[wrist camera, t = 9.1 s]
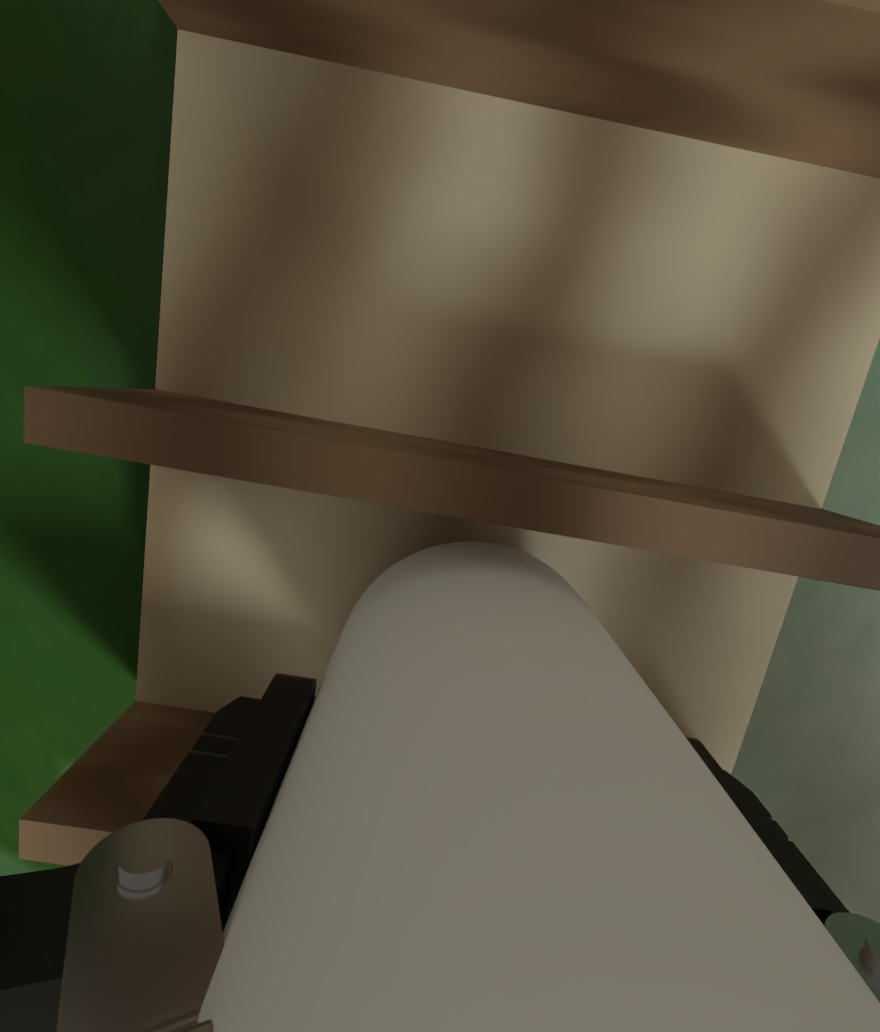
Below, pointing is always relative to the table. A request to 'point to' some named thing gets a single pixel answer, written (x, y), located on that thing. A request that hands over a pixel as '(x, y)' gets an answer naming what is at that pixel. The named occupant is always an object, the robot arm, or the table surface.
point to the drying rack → (490, 340)
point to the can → (511, 840)
